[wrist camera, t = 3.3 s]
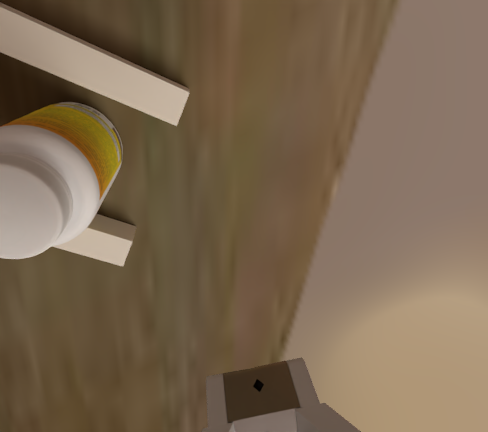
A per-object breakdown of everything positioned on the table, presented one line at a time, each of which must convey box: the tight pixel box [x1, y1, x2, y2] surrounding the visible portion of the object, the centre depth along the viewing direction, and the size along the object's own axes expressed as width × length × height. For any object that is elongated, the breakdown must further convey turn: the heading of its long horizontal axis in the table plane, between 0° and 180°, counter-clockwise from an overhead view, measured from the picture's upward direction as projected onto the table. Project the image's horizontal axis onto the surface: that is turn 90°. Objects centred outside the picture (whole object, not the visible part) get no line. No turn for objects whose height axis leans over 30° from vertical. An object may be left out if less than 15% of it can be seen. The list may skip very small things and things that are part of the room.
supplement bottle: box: [0, 102, 123, 259], centre depth 18 cm, size 6×6×10 cm
